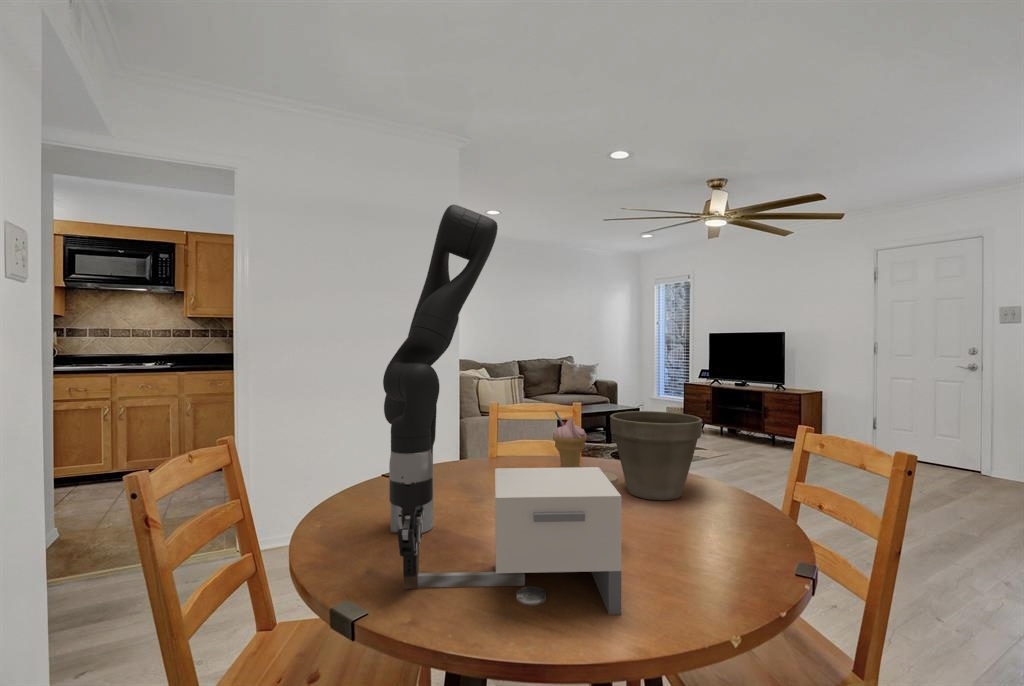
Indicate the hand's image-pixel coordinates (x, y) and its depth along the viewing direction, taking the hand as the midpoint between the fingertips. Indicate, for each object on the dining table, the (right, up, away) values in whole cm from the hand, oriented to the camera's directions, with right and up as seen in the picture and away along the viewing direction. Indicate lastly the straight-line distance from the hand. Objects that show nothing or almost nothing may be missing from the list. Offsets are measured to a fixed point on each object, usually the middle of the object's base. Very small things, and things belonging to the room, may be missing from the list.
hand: (411, 571), depth 93 cm
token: (+21, -3, -4) cm, 22 cm away
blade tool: (+9, -3, 0) cm, 10 cm away
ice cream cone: (+36, -1, +74) cm, 83 cm away
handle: (+37, -2, +16) cm, 41 cm away
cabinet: (+25, -3, -1) cm, 25 cm away
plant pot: (+58, -2, +54) cm, 80 cm away
